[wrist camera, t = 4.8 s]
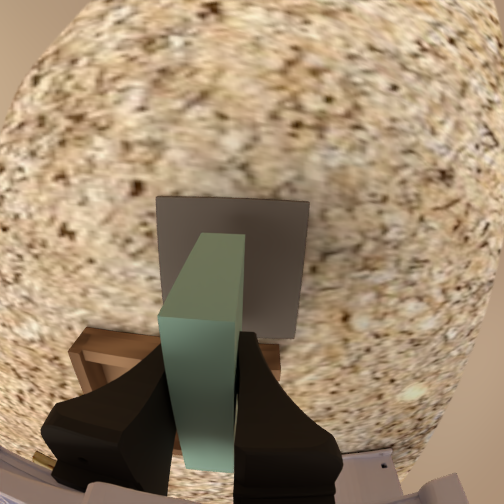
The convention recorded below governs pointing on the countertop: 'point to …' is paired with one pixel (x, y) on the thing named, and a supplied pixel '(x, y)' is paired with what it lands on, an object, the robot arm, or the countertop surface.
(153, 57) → the countertop surface
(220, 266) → the block
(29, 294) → the countertop surface
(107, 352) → the tray
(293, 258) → the mat
